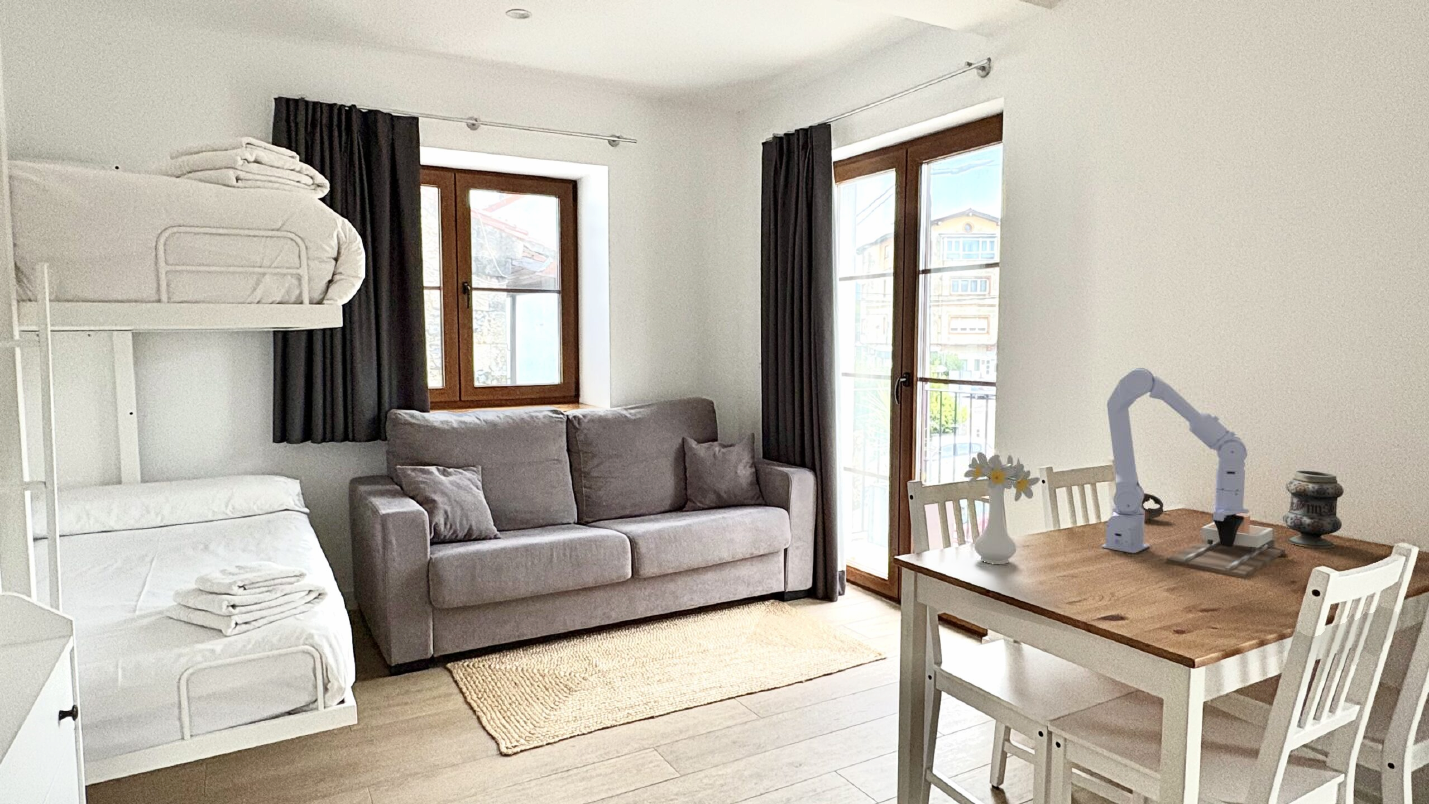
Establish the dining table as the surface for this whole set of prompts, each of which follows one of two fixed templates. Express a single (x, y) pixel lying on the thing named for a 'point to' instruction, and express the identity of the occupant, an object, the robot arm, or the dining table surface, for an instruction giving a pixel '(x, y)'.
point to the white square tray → (1240, 536)
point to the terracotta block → (1244, 524)
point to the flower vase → (999, 503)
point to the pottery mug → (1151, 512)
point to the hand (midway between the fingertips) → (1226, 546)
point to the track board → (1226, 558)
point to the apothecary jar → (1313, 508)
